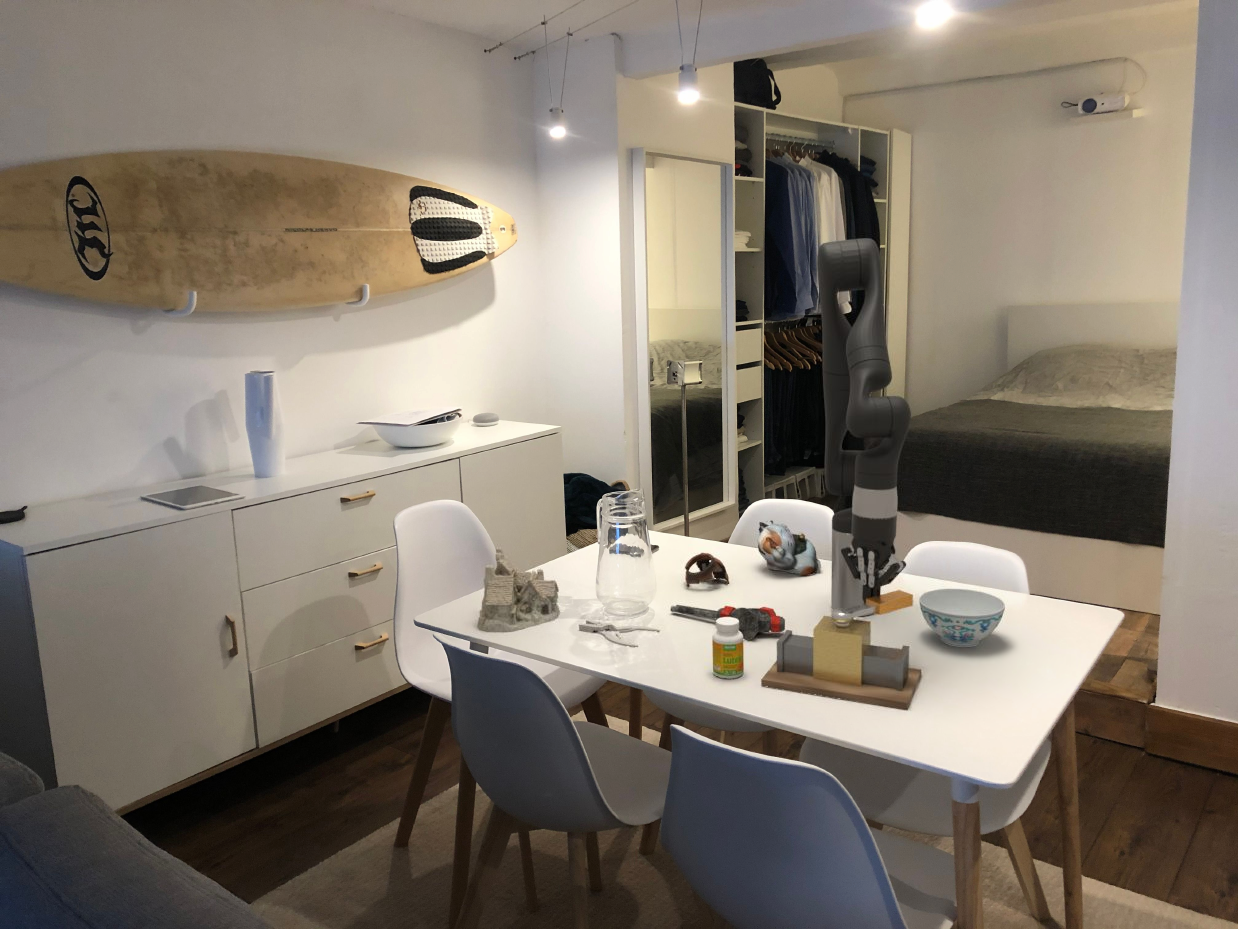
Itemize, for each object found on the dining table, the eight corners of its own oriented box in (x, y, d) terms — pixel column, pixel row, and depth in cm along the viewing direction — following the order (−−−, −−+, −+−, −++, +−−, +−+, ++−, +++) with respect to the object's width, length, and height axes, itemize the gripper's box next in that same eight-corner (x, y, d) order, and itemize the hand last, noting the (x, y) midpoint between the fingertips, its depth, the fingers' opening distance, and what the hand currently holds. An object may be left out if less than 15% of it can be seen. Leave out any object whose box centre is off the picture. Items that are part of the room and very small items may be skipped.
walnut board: (785, 656, 172) (785, 649, 172) (921, 676, 162) (921, 669, 161) (761, 686, 160) (761, 679, 160) (907, 709, 149) (907, 702, 149)
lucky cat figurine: (825, 577, 216) (803, 530, 211) (776, 596, 219) (753, 550, 213) (814, 542, 230) (793, 497, 224) (768, 560, 232) (746, 516, 226)
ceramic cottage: (467, 630, 191) (468, 558, 188) (499, 606, 206) (500, 539, 204) (539, 640, 187) (541, 567, 184) (566, 615, 202) (568, 547, 200)
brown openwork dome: (737, 590, 211) (722, 563, 207) (699, 610, 212) (684, 583, 208) (723, 562, 222) (709, 536, 218) (687, 581, 222) (673, 555, 219)
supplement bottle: (722, 682, 162) (721, 628, 160) (707, 670, 167) (706, 618, 165) (749, 675, 164) (749, 622, 162) (733, 665, 169) (733, 613, 167)
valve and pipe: (787, 660, 168) (787, 606, 166) (908, 678, 159) (910, 621, 157) (776, 675, 162) (775, 619, 160) (901, 695, 153) (902, 636, 151)
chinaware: (941, 620, 187) (942, 583, 185) (1017, 639, 176) (1018, 599, 175) (903, 642, 177) (904, 603, 175) (981, 663, 166) (982, 621, 165)
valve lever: (842, 626, 156) (842, 614, 156) (826, 620, 159) (826, 608, 159) (913, 606, 165) (913, 595, 164) (897, 600, 168) (898, 589, 167)
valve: (808, 634, 188) (770, 647, 177) (699, 615, 205) (658, 626, 193) (808, 602, 188) (771, 613, 176) (700, 586, 204) (659, 595, 193)
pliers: (636, 642, 178) (569, 629, 186) (636, 649, 179) (569, 637, 186) (660, 625, 187) (595, 614, 194) (660, 632, 187) (595, 621, 195)
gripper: (920, 514, 160) (915, 610, 164) (858, 499, 171) (855, 590, 175) (891, 522, 156) (887, 621, 160) (830, 506, 167) (827, 599, 170)
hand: (870, 604), depth 167 cm, fingers closed
